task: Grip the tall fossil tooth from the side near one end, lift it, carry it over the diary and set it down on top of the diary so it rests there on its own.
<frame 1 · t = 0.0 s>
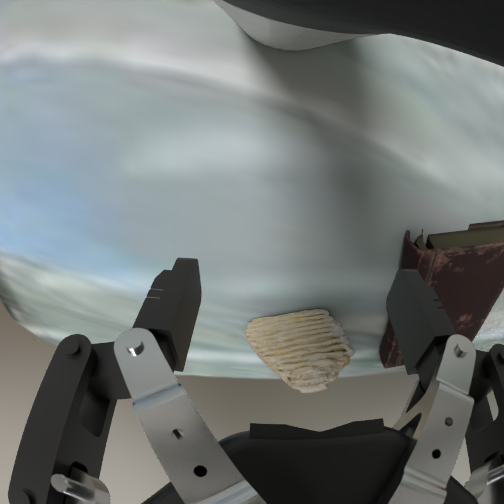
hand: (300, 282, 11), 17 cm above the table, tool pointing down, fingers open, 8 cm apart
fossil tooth: (296, 320, 40), on the table
diary: (442, 291, 36), on the table
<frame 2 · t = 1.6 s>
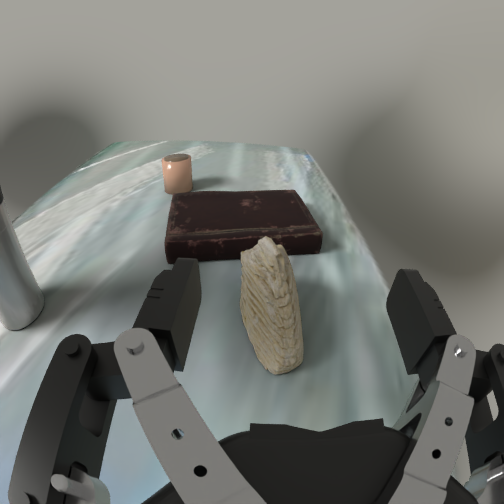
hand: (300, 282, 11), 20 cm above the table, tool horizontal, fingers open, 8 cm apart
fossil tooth: (268, 327, 35), on the table
peach glossy cylinder: (178, 188, 68), on the table
diary: (239, 232, 53), on the table
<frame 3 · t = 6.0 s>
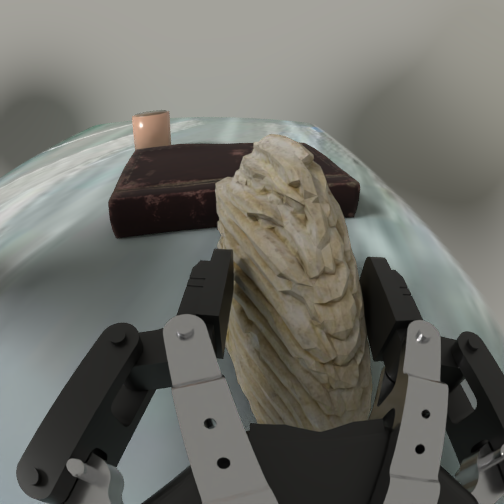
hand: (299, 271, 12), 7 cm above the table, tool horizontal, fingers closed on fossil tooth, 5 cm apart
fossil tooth: (279, 351, 16), on the table, touching gripper
peach glossy cylinder: (153, 154, 50), on the table
diary: (229, 195, 35), on the table
when the fingers open (13 cm above the table, at t = 11.8 s): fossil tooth drops 2 cm, resting on diary.
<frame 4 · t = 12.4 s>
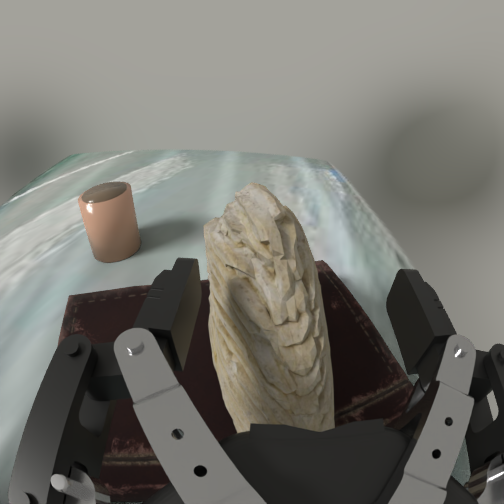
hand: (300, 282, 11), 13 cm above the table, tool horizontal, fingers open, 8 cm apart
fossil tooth: (263, 371, 18), point 4 cm above the table, touching diary
peach glossy cylinder: (116, 247, 36), on the table
diary: (220, 388, 21), on the table, touching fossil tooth
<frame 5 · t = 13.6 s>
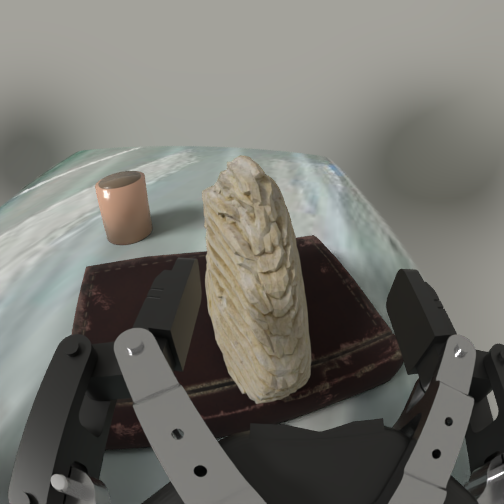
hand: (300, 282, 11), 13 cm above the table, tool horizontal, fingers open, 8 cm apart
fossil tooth: (251, 320, 21), point 4 cm above the table, touching diary
peach glossy cylinder: (129, 231, 39), on the table
diary: (223, 345, 25), on the table, touching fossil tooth
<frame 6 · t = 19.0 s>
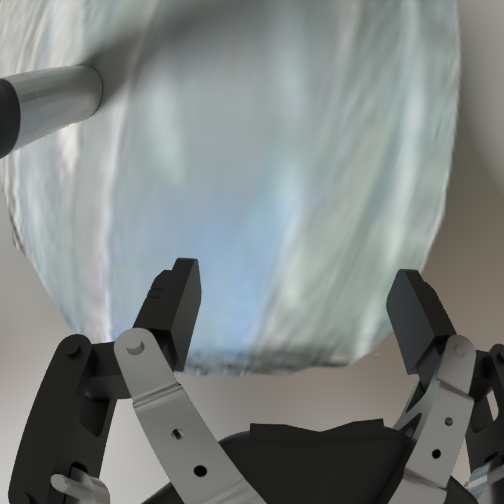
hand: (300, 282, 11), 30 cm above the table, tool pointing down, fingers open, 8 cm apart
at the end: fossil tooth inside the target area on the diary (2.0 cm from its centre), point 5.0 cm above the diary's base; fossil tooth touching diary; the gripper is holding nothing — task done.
